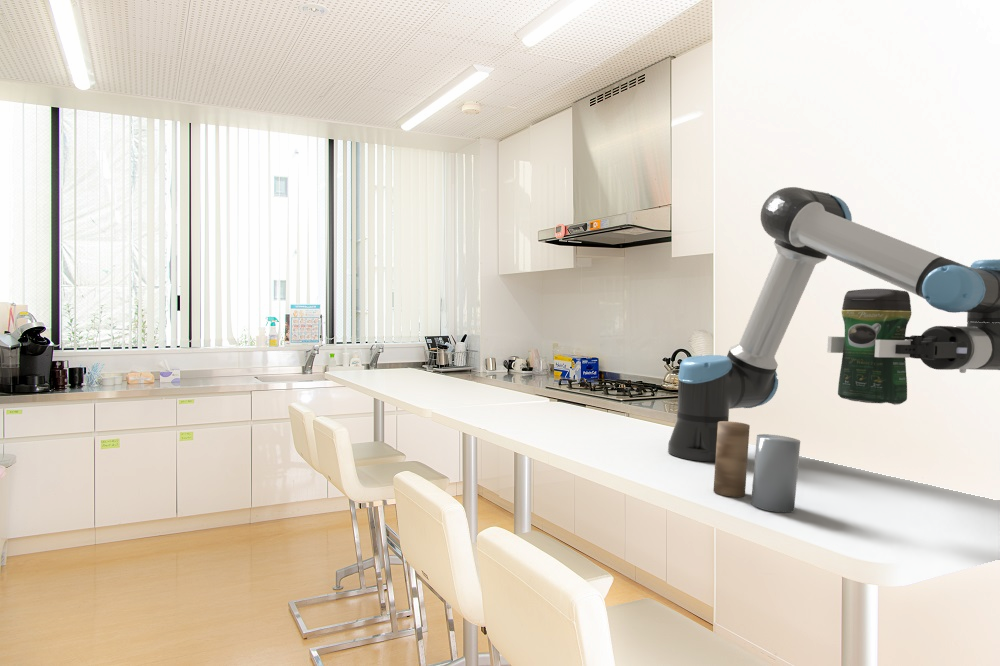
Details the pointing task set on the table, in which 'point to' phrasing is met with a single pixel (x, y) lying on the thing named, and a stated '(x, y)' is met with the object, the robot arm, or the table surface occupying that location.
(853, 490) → the table surface
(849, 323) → the coffee jar
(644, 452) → the table surface
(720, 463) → the walnut spice mill
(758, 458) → the slate canister
